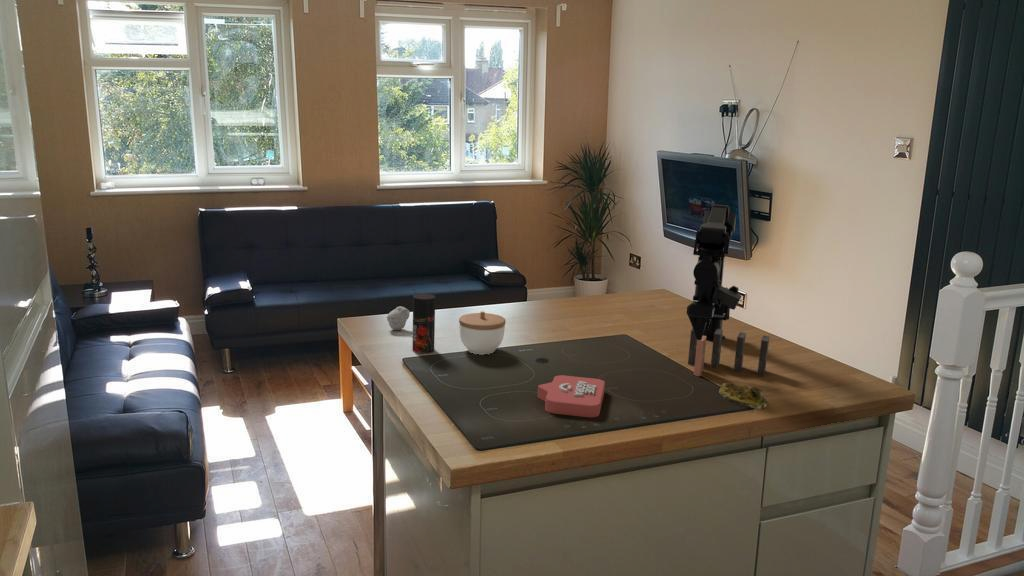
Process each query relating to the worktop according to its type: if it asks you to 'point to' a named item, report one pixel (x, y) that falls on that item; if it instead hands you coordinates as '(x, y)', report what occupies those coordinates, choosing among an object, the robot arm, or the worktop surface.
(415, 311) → the deodorant
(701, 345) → the domino
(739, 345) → the domino
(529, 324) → the worktop surface
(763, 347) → the domino
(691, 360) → the domino
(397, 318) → the grey lumpy stone
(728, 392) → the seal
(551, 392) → the plaque
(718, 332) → the domino
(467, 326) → the lidded bowl
